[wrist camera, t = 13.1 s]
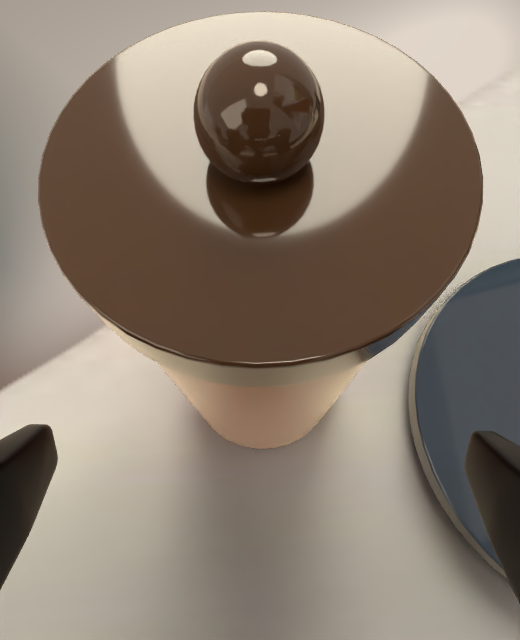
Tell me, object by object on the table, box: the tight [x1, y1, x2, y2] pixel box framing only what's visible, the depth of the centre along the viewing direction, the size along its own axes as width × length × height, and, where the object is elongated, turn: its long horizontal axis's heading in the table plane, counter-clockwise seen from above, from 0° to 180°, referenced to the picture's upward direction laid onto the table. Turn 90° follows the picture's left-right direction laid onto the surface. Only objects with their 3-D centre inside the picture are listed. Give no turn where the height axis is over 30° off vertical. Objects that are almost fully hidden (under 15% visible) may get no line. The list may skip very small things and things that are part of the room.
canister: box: [38, 12, 483, 449], centre depth 11 cm, size 6×6×13 cm
